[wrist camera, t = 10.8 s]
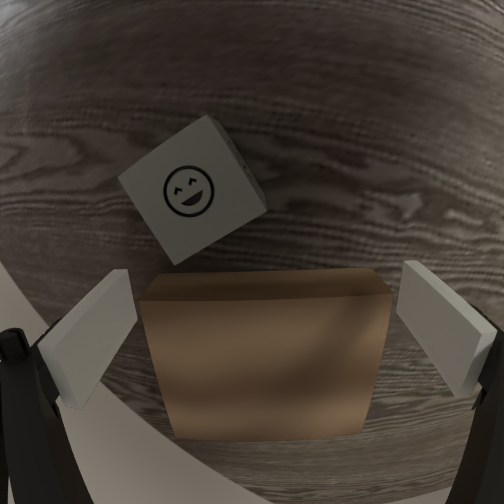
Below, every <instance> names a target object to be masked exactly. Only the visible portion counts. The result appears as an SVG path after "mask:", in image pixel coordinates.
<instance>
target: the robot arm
mask: <svg viewBox="0 0 504 504" xmlns="http://www.w3.org/2000/svg"><path fill="white" fill-rule="evenodd" d="M396 313H397V314H398V315H399V317H400V318H401V319H402V321H403V322H404V323H405V325H406V326H407V328H408V329H409V330H410V332H411V333H412V334H413V336H414V337H415V339H416V340H417V341H418V343H419V344H420V346H421V347H422V348H423V350H424V351H425V353H426V354H427V356H428V357H429V358H430V360H431V361H432V363H433V364H434V366H435V367H436V369H437V370H438V372H439V373H440V375H441V376H442V378H443V379H444V381H445V382H446V384H447V385H448V387H449V388H450V390H451V391H452V393H453V394H454V396H455V397H456V398H460V397H463V396H466V395H470V394H472V392H473V390H474V388H475V386H476V384H477V381H478V382H479V383H480V384H481V386H482V389H481V391H480V393H479V395H478V397H477V399H476V401H475V403H474V405H473V407H472V409H471V410H474V409H475V407H476V410H475V414H474V418H473V423H472V426H471V430H470V434H469V438H468V441H467V445H466V448H465V451H464V455H463V458H462V461H461V464H460V467H459V470H458V472H457V475H456V478H455V481H454V483H453V486H452V489H451V491H450V494H449V496H448V499H447V501H446V503H445V504H504V332H503V331H502V330H501V329H500V328H499V327H498V326H497V325H496V324H494V323H493V322H492V321H491V320H489V318H488V317H487V316H486V315H485V314H484V315H483V313H482V312H481V311H480V310H479V309H478V308H477V307H475V306H473V305H471V304H469V303H468V302H466V301H465V300H464V299H462V298H461V297H460V296H459V295H458V294H457V293H456V292H454V291H453V290H452V289H451V288H450V287H449V286H447V285H446V284H445V283H444V282H443V281H442V280H440V279H439V278H438V277H437V276H436V275H434V274H433V273H432V272H431V271H429V270H428V269H427V268H426V267H425V266H423V265H422V264H421V263H420V262H418V261H417V260H413V261H404V262H403V269H402V277H401V283H400V290H399V296H398V302H397V308H396ZM137 320H138V318H137V314H136V309H135V305H134V300H133V295H132V290H131V285H130V280H129V274H128V269H114V270H112V271H111V272H110V273H109V274H108V275H107V276H106V277H105V278H104V279H103V280H102V281H101V282H100V283H98V284H97V285H96V286H95V287H94V288H93V289H92V290H91V291H90V292H89V293H88V294H87V295H86V296H85V297H84V298H83V299H82V300H81V301H80V302H79V303H78V304H77V305H76V306H75V307H74V308H73V309H72V310H71V311H70V312H69V313H68V314H67V315H65V316H63V317H62V318H60V319H58V320H57V321H56V322H55V323H54V324H53V325H52V326H51V327H50V328H49V329H48V330H47V331H46V332H45V334H43V335H42V336H41V337H40V338H39V339H38V340H37V341H36V342H35V343H34V344H33V345H32V346H31V347H30V346H29V344H28V342H27V339H26V336H25V334H24V331H23V330H22V329H20V328H10V329H7V330H4V331H2V332H1V333H0V360H1V362H0V504H8V480H9V478H10V482H11V488H12V493H13V498H14V502H15V504H94V503H93V501H92V499H91V496H90V494H89V492H88V490H87V487H86V485H85V483H84V480H83V478H82V475H81V473H80V470H79V468H78V465H77V463H76V460H75V457H74V455H73V452H72V449H71V446H70V443H69V440H68V437H67V434H66V431H65V428H64V424H63V421H62V418H61V414H60V411H59V407H58V406H57V404H56V402H55V401H56V399H57V397H58V396H59V395H60V396H61V398H62V400H63V402H64V404H65V406H67V407H71V408H75V409H80V410H82V409H83V408H84V406H85V404H86V402H87V401H88V399H89V397H90V396H91V394H92V392H93V391H94V389H95V387H96V386H97V384H98V382H99V381H100V379H101V377H102V376H103V374H104V372H105V371H106V369H107V367H108V366H109V364H110V362H111V361H112V359H113V358H114V356H115V354H116V353H117V351H118V350H119V348H120V346H121V345H122V343H123V342H124V340H125V338H126V337H127V335H128V334H129V332H130V331H131V329H132V327H133V326H134V324H135V323H136V321H137Z"/></svg>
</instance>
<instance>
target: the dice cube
mask: <svg viewBox="0 0 504 504" xmlns="http://www.w3.org/2000/svg"><path fill="white" fill-rule="evenodd" d="M117 178H118V179H119V181H120V183H121V184H122V186H123V188H124V189H125V191H126V192H127V194H128V196H129V197H130V199H131V200H132V202H133V203H134V205H135V207H136V208H137V210H138V211H139V213H140V214H141V216H142V217H143V219H144V221H145V222H146V224H147V225H148V227H149V228H150V230H151V231H152V233H153V234H154V236H155V237H156V239H157V240H158V242H159V243H160V245H161V246H162V248H163V249H164V251H165V252H166V254H167V255H168V257H169V258H170V259H171V261H172V262H173V264H174V265H177V264H178V263H180V262H182V261H183V260H185V259H187V258H188V257H190V256H192V255H193V254H195V253H197V252H198V251H200V250H202V249H203V248H205V247H207V246H208V245H210V244H212V243H213V242H215V241H217V240H218V239H220V238H222V237H224V236H225V235H227V234H229V233H230V232H232V231H234V230H236V229H237V228H239V227H241V226H242V225H244V224H246V223H248V222H249V221H251V220H253V219H254V218H256V217H258V216H260V215H261V214H263V213H265V212H267V207H266V199H265V194H264V193H263V191H262V189H261V188H260V186H259V184H258V183H257V181H256V179H255V178H254V176H253V174H252V173H251V171H250V169H249V168H248V166H247V165H246V163H245V161H244V160H243V158H242V156H241V155H240V153H239V152H238V150H237V148H236V147H235V145H234V144H233V142H232V140H231V139H230V137H229V136H228V134H227V132H226V131H225V129H224V128H223V126H222V125H221V123H220V122H218V121H217V120H215V119H214V118H212V117H211V116H209V115H208V114H206V115H204V116H203V117H201V118H199V119H198V120H196V121H195V122H193V123H192V124H190V125H189V126H187V127H186V128H184V129H183V130H181V131H180V132H178V133H177V134H175V135H174V136H172V137H171V138H169V139H168V140H166V141H165V142H163V143H162V144H161V145H159V146H158V147H156V148H155V149H154V150H152V151H151V152H149V153H148V154H147V155H145V156H144V157H143V158H141V159H140V160H139V161H137V162H136V163H135V164H133V165H132V166H131V167H129V168H128V169H127V170H126V171H124V172H123V173H122V174H120V175H119V176H118V177H117Z"/></svg>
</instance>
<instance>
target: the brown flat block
mask: <svg viewBox="0 0 504 504" xmlns="http://www.w3.org/2000/svg"><path fill="white" fill-rule="evenodd" d="M393 295H394V293H393V292H392V291H391V289H390V288H389V287H388V286H387V285H386V283H385V282H384V281H383V280H382V279H381V278H380V277H379V275H378V274H377V273H376V272H375V271H374V270H373V268H372V267H361V268H337V269H311V270H281V271H247V272H205V273H159V274H158V275H157V276H156V278H155V279H154V280H153V282H152V283H151V284H150V286H149V287H148V288H147V290H146V291H145V292H144V294H143V295H142V296H141V298H140V299H139V300H138V302H139V307H140V311H141V316H142V321H143V325H144V329H145V334H146V338H147V342H148V346H149V350H150V354H151V358H152V362H153V366H154V369H155V373H156V377H157V380H158V384H159V387H160V391H161V394H162V397H163V401H164V404H165V407H166V410H167V414H168V417H169V420H170V423H171V426H172V429H173V432H174V435H175V438H181V439H193V440H209V441H287V440H303V439H315V438H325V437H334V436H342V435H350V434H357V433H361V431H362V428H363V425H364V422H365V418H366V415H367V412H368V408H369V405H370V401H371V398H372V394H373V390H374V387H375V383H376V379H377V375H378V371H379V366H380V362H381V358H382V353H383V349H384V344H385V339H386V334H387V329H388V324H389V319H390V313H391V307H392V301H393Z"/></svg>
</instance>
